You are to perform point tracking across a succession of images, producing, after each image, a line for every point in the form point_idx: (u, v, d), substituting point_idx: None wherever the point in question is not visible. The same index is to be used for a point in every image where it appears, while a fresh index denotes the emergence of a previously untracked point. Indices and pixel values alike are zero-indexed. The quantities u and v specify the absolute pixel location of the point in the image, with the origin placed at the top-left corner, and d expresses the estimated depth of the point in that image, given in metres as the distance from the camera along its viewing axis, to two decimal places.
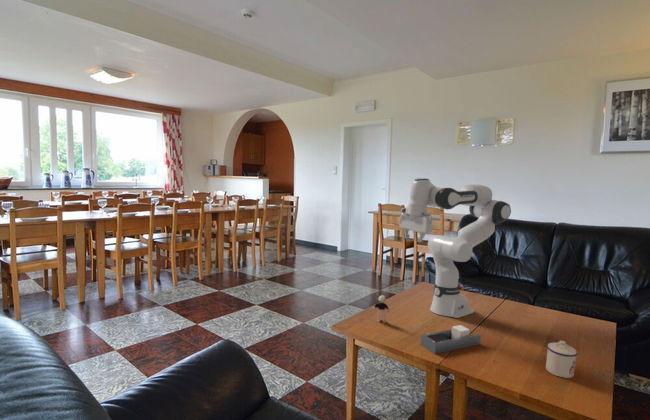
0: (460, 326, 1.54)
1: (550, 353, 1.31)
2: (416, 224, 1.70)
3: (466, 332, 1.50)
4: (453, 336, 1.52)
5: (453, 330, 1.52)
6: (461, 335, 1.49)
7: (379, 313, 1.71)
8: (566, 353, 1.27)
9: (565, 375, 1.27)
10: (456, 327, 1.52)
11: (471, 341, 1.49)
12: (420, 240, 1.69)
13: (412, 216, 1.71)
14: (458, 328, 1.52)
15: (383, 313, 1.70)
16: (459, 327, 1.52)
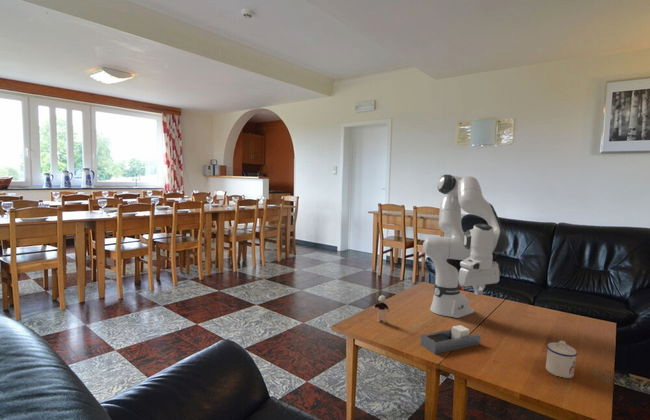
0: (460, 326, 1.54)
1: (550, 353, 1.31)
2: (488, 276, 1.53)
3: (466, 332, 1.50)
4: (453, 336, 1.52)
5: (453, 330, 1.52)
6: (461, 335, 1.49)
7: (379, 313, 1.71)
8: (566, 353, 1.27)
9: (565, 375, 1.27)
10: (456, 327, 1.52)
11: (471, 341, 1.49)
12: None
13: (487, 269, 1.50)
14: (458, 328, 1.52)
15: (383, 313, 1.70)
16: (459, 327, 1.52)
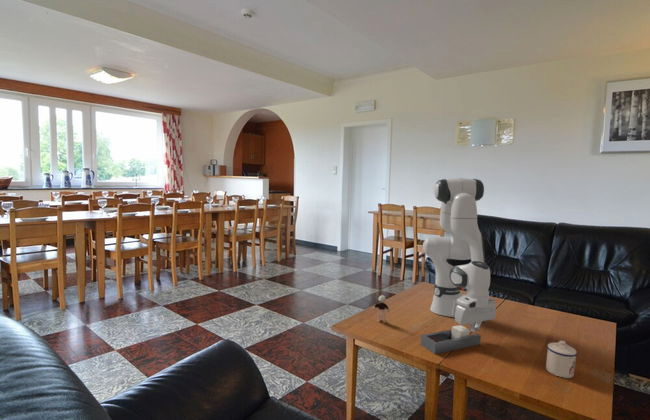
0: (460, 326, 1.54)
1: (550, 353, 1.31)
2: (484, 313, 1.54)
3: (466, 332, 1.50)
4: (453, 336, 1.52)
5: (453, 330, 1.52)
6: (461, 335, 1.49)
7: (379, 313, 1.71)
8: (566, 353, 1.27)
9: (565, 375, 1.27)
10: (456, 327, 1.52)
11: (471, 341, 1.49)
12: None
13: (483, 307, 1.52)
14: (458, 328, 1.52)
15: (383, 313, 1.70)
16: (459, 327, 1.52)
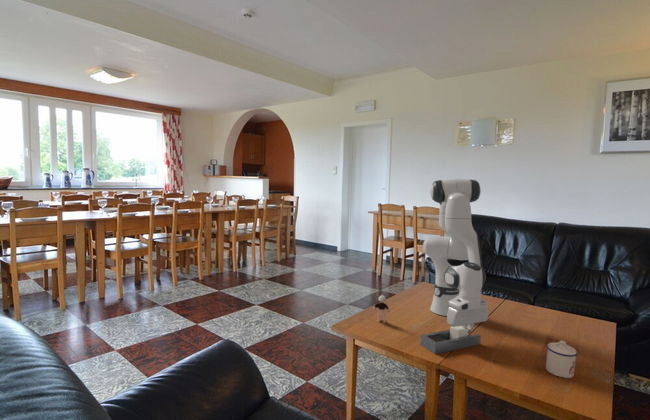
0: (459, 326, 1.53)
1: (550, 353, 1.31)
2: (476, 315, 1.52)
3: (464, 333, 1.50)
4: (452, 336, 1.52)
5: (452, 330, 1.52)
6: (459, 335, 1.49)
7: (379, 313, 1.71)
8: (566, 353, 1.27)
9: (565, 375, 1.27)
10: (455, 327, 1.52)
11: (471, 341, 1.49)
12: None
13: (475, 309, 1.50)
14: (457, 328, 1.51)
15: (383, 313, 1.70)
16: (457, 328, 1.52)
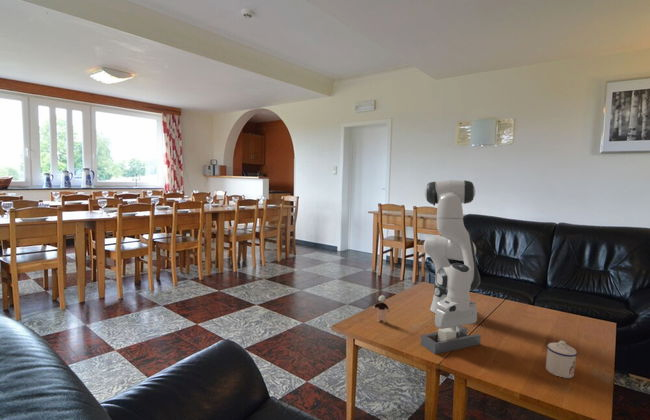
0: (447, 328, 1.51)
1: (550, 353, 1.31)
2: (465, 317, 1.50)
3: (452, 335, 1.47)
4: (439, 339, 1.49)
5: (439, 333, 1.49)
6: (447, 338, 1.46)
7: (379, 313, 1.71)
8: (566, 353, 1.27)
9: (565, 375, 1.27)
10: (443, 329, 1.49)
11: (471, 341, 1.49)
12: None
13: (464, 311, 1.47)
14: (445, 330, 1.49)
15: (383, 313, 1.70)
16: (445, 330, 1.49)
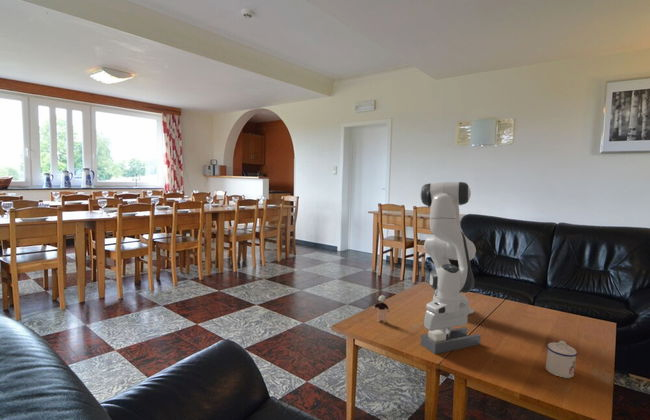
0: (437, 330, 1.49)
1: (550, 353, 1.31)
2: (455, 319, 1.48)
3: (442, 337, 1.45)
4: None
5: (429, 334, 1.47)
6: (437, 340, 1.44)
7: (379, 313, 1.71)
8: (566, 353, 1.27)
9: (565, 375, 1.27)
10: (433, 331, 1.47)
11: (471, 341, 1.49)
12: None
13: (454, 313, 1.45)
14: (434, 332, 1.46)
15: (383, 313, 1.70)
16: (435, 332, 1.47)
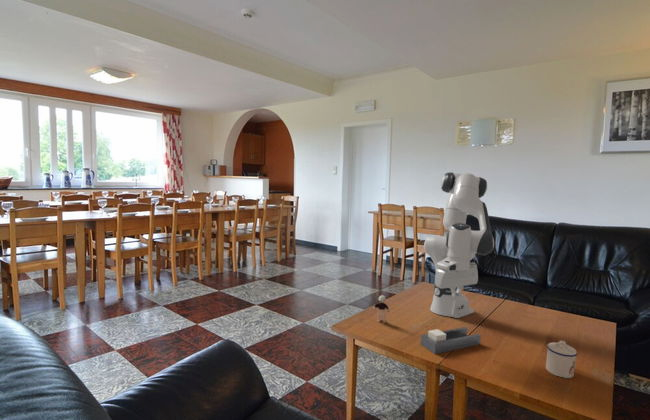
0: (437, 330, 1.49)
1: (550, 353, 1.31)
2: (465, 278, 1.48)
3: (442, 337, 1.45)
4: None
5: (429, 334, 1.47)
6: (437, 340, 1.44)
7: (379, 313, 1.71)
8: (566, 353, 1.27)
9: (565, 375, 1.27)
10: (433, 331, 1.47)
11: (471, 341, 1.49)
12: None
13: (464, 271, 1.45)
14: (434, 332, 1.46)
15: (383, 313, 1.70)
16: (435, 332, 1.47)
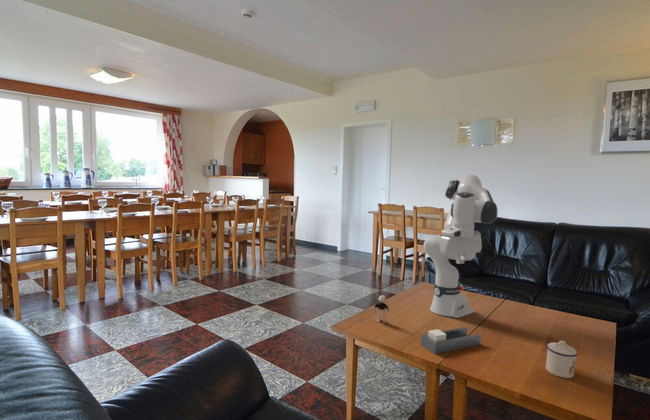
0: (437, 330, 1.49)
1: (550, 353, 1.31)
2: (469, 245, 1.52)
3: (442, 337, 1.45)
4: None
5: (429, 334, 1.47)
6: (437, 340, 1.44)
7: (379, 313, 1.71)
8: (566, 353, 1.27)
9: (565, 375, 1.27)
10: (433, 331, 1.47)
11: (471, 341, 1.49)
12: None
13: (468, 238, 1.50)
14: (434, 332, 1.46)
15: (383, 313, 1.70)
16: (435, 332, 1.47)
